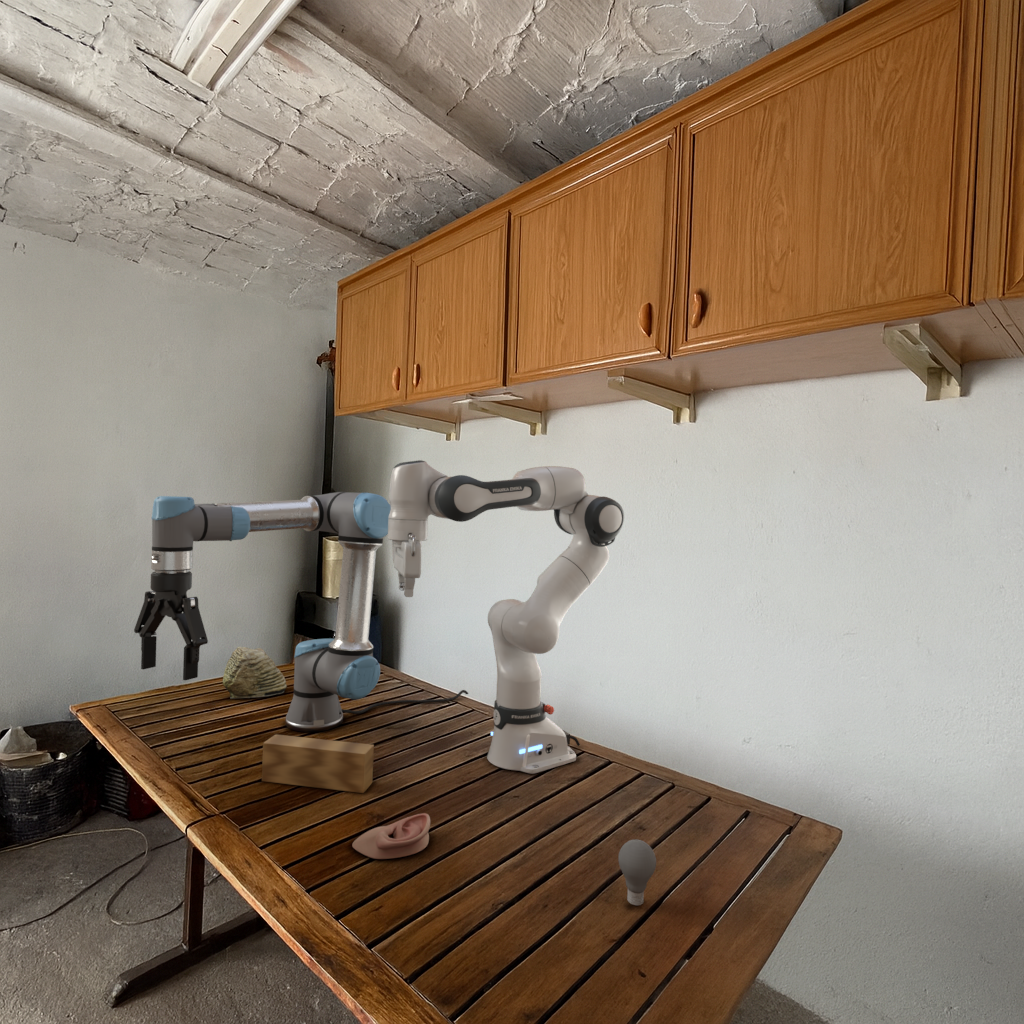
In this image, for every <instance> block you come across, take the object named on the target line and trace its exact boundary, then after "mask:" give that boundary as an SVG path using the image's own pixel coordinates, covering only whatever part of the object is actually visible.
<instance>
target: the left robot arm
mask: <svg viewBox="0 0 1024 1024" xmlns="http://www.w3.org/2000/svg"><path fill="white" fill-rule="evenodd" d="M390 508H391V507H390V502H388V500H387V499H386V498H385V497H384V496H383V495H380V494H377V493H373V492H372V493H371V492H352V491H351V492H350V491H349V492H348V491H337V492H329V493H324V494H316V495H304V496H303V497H302V498H301V499H287V500H286V499H285V500H263V501H262V500H261V501H235V502H213V503H195V499H194V497H191V496H177V495H175V496H174V495H173V496H172V495H159V496H157V497H155V498H154V500H153V506H152V513H151V525H152V526H151V558H150V559H151V562H150V563H151V564H150V565H151V567H150V569H152V572H151V574H150V590H148V591H145V593H144V599H143V603H142V606H141V609H140V612H139V615H138V617H137V620H136V623H135V626H134V629H133V631H134V633H135V634H139V637H140V639H141V640H140V641H141V642H140V651H141V656H140V657H141V664H140V665H141V666H140V669H141V670H147V669H152V668H156V667H157V638H158V636H156V635H157V630H158V628H159V627H160V625H161V623H162V622H163V620H164V619H165V617H168V618H171V620H172V621H174V622H175V624H176V626H177V627H178V629H179V632H180V634H181V636H182V638H183V640H184V642H185V646H184V647H183V666H182V667H183V668H182V669H183V670H182V681H189V680H192V679H196V678H198V677H199V676H198V675H199V661H200V647H201V646H203V645H207V644H208V643H209V640H208V636H207V633H206V630H205V625H204V622H203V618H202V615H201V612H200V607H199V598H198V596H191V597H188V594H187V593H188V591H189V590H191V589H192V587H193V573H192V571H190V570H192V569H193V565H194V563H193V562H194V561H193V560H194V542H222V541H224V542H225V541H227V542H228V541H229V542H233V541H241V540H244V539H245V538H246V537H248V534H249V533H256V532H257V533H258V532H269V531H283V530H295V529H303V530H304V531H306V532H326V533H332V534H338V538H337V542H338V543H339V544H340V545H341V547H342V558H341V570H340V581H339V592H338V602H337V603H338V604H337V615H336V623H335V624H336V625H335V636H334V638H317V639H308V640H304V641H300V642H299V643H298V644H297V645H296V646H295V650H294V655H293V657H294V672H293V673H294V674H293V695H292V696H293V697H292V699H291V702H290V704H289V708H288V711H287V713H286V715H285V726H286V728H287V729H289V730H291V731H294V732H295V731H296V732H301V733H316V732H325V731H329V730H332V729H335V728H337V727H339V726H340V725H342V723H343V722H344V713H345V714H351V715H352V714H353V715H361V714H364V713H367V711H369V710H371V709H373V708H377V707H381V706H385V705H393V704H394V705H396V704H428V703H444V702H450V701H455V700H457V699H458V698H459V697H460V696H461V695H462V694H465V695H469V692H468V691H467V690H465V689H462V690H460V691H459V692H458V693H457V694H456V695H454V696H452V697H447V698H438V699H400V700H399V699H397V700H389V701H382V702H378V703H374V704H371V705H369V706H367V707H365V708H364V709H361V710H351V709H343V708H342V706H341V702H340V699H339V697H340V698H343V699H350V700H360V699H363V698H365V697H367V696H368V695H369V694H370V693H371V692H372V690H374V689H375V687H376V686H377V684H378V682H379V680H380V676H381V665H380V663H379V662H378V659H376V658H375V657H374V645H373V644H372V642H371V641H370V640H369V635H370V624H371V613H372V612H371V611H372V601H373V591H374V581H375V580H374V579H375V568H376V567H375V566H376V558H377V550H378V549H380V547H382V546H383V544H384V543H383V542H384V537H386V536H388V519H389V518H388V517H389V513H390Z"/></svg>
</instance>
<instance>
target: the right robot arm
mask: <svg viewBox="0 0 1024 1024" xmlns="http://www.w3.org/2000/svg"><path fill="white" fill-rule="evenodd" d="M586 489H587V484H586V480H585V477H584V475H583V474H582V473H581V471H579V470H578V469H576V468H574V467H567V466H559V465H546V466H535V467H534V466H533V467H529V468H525V469H522V470H519V471H517V472H516V473H515V474H514V475H513V477H512V478H511V479H504V480H491V481H483V480H482V481H481V480H479V479H477V478H474V477H471V476H469V475H466V474H465V475H464V474H458V475H454V476H448V475H447V474H444V473H442V472H440V471H438V470H436V469H435V468H434V467H432V466H431V465H430V464H428V463H427V461H425V460H422V459H421V460H420V459H419V460H412V461H411V460H410V461H404V462H399V463H397V464H396V465H394V467H393V468H392V471H391V474H390V479H389V491H388V501H389V504H390V507H391V508H390V513H389V517H388V518H389V519H388V534H387V540H389V541H391V551H392V552H391V553H392V563H393V568H394V569H395V570H396V571H397V575H398V577H397V578H398V590H399V591H403V595H404V597H405V598H413V597H414V589H415V584H416V579H420V578H421V575H422V542H427V541H428V531H429V529H428V528H429V526H428V525H429V516H431V515H432V516H433V517H436V518H440V519H447V520H450V521H453V522H457V523H458V522H460V523H463V522H468V521H470V520H472V519H474V518H476V517H478V516H479V515H481V514H482V513H484V512H487V511H489V510H497V509H499V510H500V509H507V508H517V509H518V510H520V511H527V512H546V511H553V516H554V517H553V518H554V522H555V523H556V525H557V527H558V528H559V529H560V530H561V531H562V532H564V533H566V534H568V535H572V539H571V541H570V544H568V546H567V548H566V549H565V550H564V551H562V552H561V554H559V555H558V556H557V557H556V558H555V559H554V560H553V561H552V562H551V564H550V565H548V566H547V567H546V568H545V569H544V571H543V572H541V574H539V575H538V577H537V580H536V586H535V588H534V590H533V592H532V593H531V595H530V597H529V598H528V599H526V600H525V601H521V600H519V599H515V598H505V599H500V600H498V601H496V602H495V603H494V604H493V605H491V607H490V608H489V611H488V614H487V623H488V626H489V629H490V632H491V636H492V641H493V642H492V643H493V650H494V655H495V665H496V694H495V695H496V696H495V700H494V703H493V731H490V736H492V738H491V742H490V746H489V749H488V752H487V755H486V759H487V760H488V762H489V763H490V764H492V765H493V766H495V767H498V768H500V769H505V770H509V771H510V770H511V771H519V772H522V773H527V774H532V775H534V774H537V773H542V772H544V771H547V770H550V769H553V768H557V767H560V766H563V765H566V764H570V763H573V762H576V761H577V754H576V752H575V751H574V750H573V749H572V748H571V747H570V745H571V740H573V741H574V742H575V744H576V745H577V747H579V746H581V743H580V742H579V740H578V739H577V737H576V736H574V735H571V734H570V733H569V732H567V731H566V730H564V729H562V728H561V727H560V726H558V724H556V723H555V722H554V721H553V720H552V719H550V718H549V717H547V714H548V715H553V714H554V712H555V708H554V706H552V705H551V704H546V703H544V702H542V700H541V695H542V678H543V677H542V676H543V675H542V670H541V667H540V664H539V662H538V657H537V655H544V654H546V653H549V652H551V650H553V649H554V648H555V646H556V645H557V643H558V641H559V638H560V626H561V624H562V623H563V620H564V618H565V616H566V615H567V613H568V611H569V610H570V609H571V608H572V606H573V605H574V604H575V603H576V602H577V601H578V600H579V598H580V597H582V595H583V594H584V593H585V592H586V591H587V590H588V588H590V587H591V586H592V584H593V583H594V582H595V581H596V580H597V578H598V577H599V576H600V574H601V573H602V571H603V570H604V569H605V567H606V566H607V564H608V562H609V561H610V560H609V559H610V550H609V549H608V547H607V546H610V545H612V544H613V543H614V542H615V540H616V537H617V536H618V535H619V533H620V532H621V530H622V528H623V525H624V522H625V512H624V509H623V507H622V506H621V504H620V503H619V502H618V501H616V500H615V499H613V498H610V497H608V496H599V495H596V494H588V492H587V490H586ZM546 713H547V714H546Z"/></svg>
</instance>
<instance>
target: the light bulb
mask: <svg viewBox="0 0 1024 1024" xmlns="http://www.w3.org/2000/svg"><path fill="white" fill-rule="evenodd" d="M618 865H619V868H620V871H621V872H622V874H623V876H624V880H625V885H626V888H627V897H626V899H627V902H628V903H629V904H630V905H633V906H641V905H643V904H644V898H645V897H644V896H645V891H646V889H647V886H648V885H647V884H648V882H649V880H650V879H651V877H652V876H653V875H654V874H655V871H656V867H657V858H656V853H655V852H654V850H653V848H652V847H651V846H650V845H649V844H648V843H647V842H646V841H644V840H641V839H634V838H633V839H630V840H627V841H626V842H625V843H623V845H622V846H621V848H620V850H619V852H618Z"/></svg>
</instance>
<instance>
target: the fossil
mask: <svg viewBox="0 0 1024 1024" xmlns="http://www.w3.org/2000/svg"><path fill="white" fill-rule="evenodd" d="M222 676H223V677H222V685H223V687H224V688H225V690H226V691H228V693H229V698H230V699H250V698H264V697H271V696H275V695H281V694H284V693H285V691H286V689H287V687H288V686H287V680H286V678H285V676H284V674H283V673H282V672H281V669H279V668H278V667H277V665H276V663H275V662H274V660H273V659H272V658H271V657H270V656H269V655H268V654H267V653H266V652H265V650H264V649H263V648H260V647H258V648H251V647H247V646H246V647H245V646H238V647H237V648H236V649H235V650H233V651H232V653H231V656H230V657H229V659H228V660H227V663H226V666H225V668H224V671H223V675H222Z"/></svg>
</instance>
